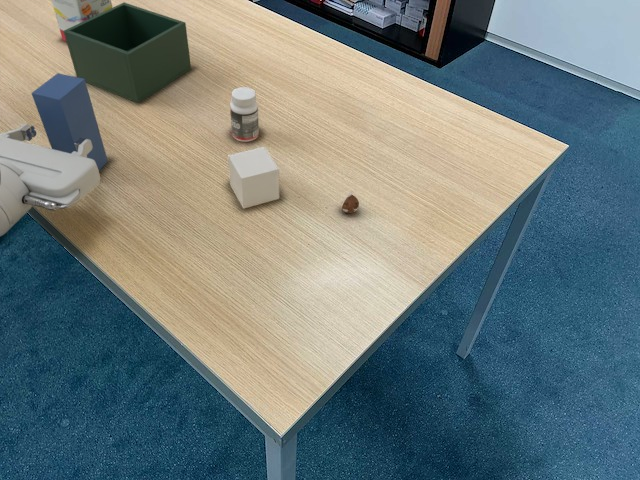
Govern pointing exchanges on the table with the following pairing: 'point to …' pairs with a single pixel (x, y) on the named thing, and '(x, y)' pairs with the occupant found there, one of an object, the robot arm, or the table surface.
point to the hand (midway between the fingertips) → (59, 135)
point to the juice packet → (69, 115)
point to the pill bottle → (244, 114)
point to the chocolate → (350, 203)
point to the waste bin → (129, 51)
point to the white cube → (254, 177)
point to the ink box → (77, 11)
